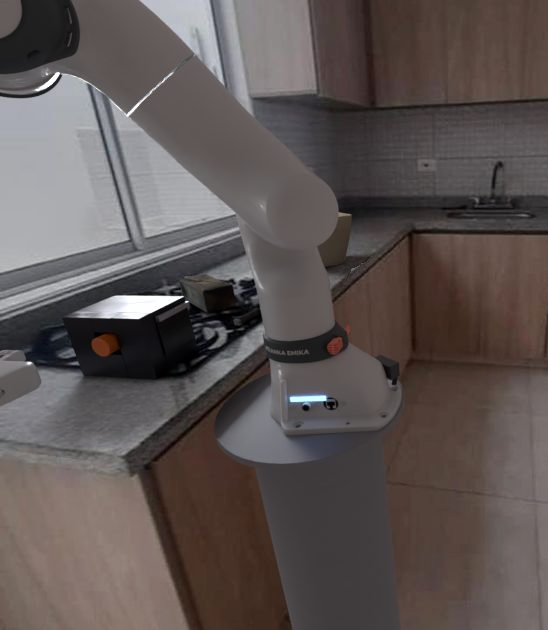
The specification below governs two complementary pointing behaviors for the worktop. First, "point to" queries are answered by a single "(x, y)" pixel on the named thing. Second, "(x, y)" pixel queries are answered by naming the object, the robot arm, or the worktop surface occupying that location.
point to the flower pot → (336, 242)
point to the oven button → (105, 344)
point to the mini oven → (133, 335)
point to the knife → (247, 316)
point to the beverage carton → (207, 292)
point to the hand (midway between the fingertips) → (16, 354)
